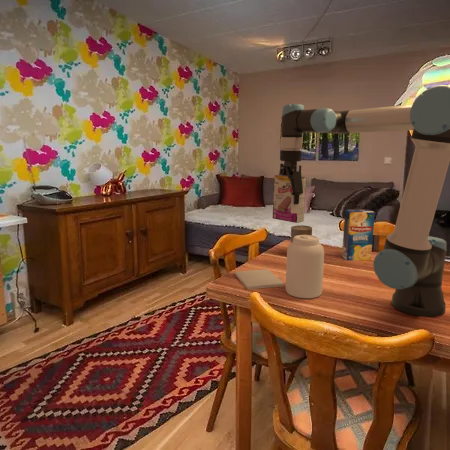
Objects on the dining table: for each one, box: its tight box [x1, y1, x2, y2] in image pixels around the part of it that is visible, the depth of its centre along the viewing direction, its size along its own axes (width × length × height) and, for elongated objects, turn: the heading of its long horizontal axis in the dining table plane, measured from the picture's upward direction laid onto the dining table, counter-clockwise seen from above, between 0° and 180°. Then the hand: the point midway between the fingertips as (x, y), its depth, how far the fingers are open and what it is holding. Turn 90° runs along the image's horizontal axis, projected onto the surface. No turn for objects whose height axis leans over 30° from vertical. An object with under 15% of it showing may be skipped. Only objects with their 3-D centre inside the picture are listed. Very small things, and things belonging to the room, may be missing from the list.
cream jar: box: [285, 234, 325, 299], centre depth 127 cm, size 12×12×20 cm
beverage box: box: [341, 209, 376, 262], centre depth 168 cm, size 7×11×22 cm, turn 91°
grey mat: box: [234, 268, 285, 290], centre depth 141 cm, size 17×14×1 cm
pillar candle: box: [290, 224, 313, 243], centre depth 172 cm, size 10×10×15 cm
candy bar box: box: [272, 174, 307, 224], centre depth 136 cm, size 11×5×16 cm, turn 45°
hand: (288, 210), depth 137 cm, fingers closed on candy bar box, 12 cm apart
